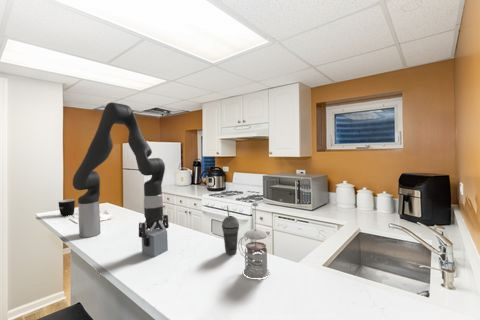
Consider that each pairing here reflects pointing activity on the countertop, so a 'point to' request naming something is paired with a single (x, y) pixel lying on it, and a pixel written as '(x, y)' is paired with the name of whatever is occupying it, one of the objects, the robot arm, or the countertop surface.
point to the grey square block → (156, 243)
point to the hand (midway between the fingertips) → (154, 242)
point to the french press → (255, 267)
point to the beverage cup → (230, 234)
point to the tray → (102, 215)
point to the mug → (67, 207)
